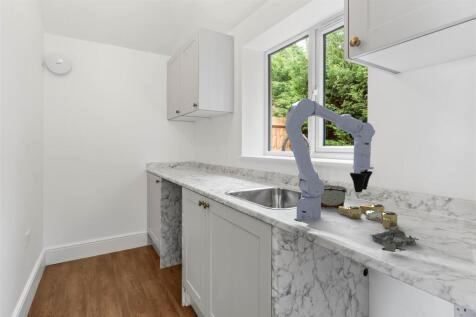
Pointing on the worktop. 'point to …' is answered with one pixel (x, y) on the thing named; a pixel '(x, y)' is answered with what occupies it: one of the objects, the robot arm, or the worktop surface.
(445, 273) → the worktop surface
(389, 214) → the knob right
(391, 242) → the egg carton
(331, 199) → the food container
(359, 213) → the knob left
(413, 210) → the worktop surface
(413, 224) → the worktop surface
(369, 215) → the tribrach plate
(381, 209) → the knob back
